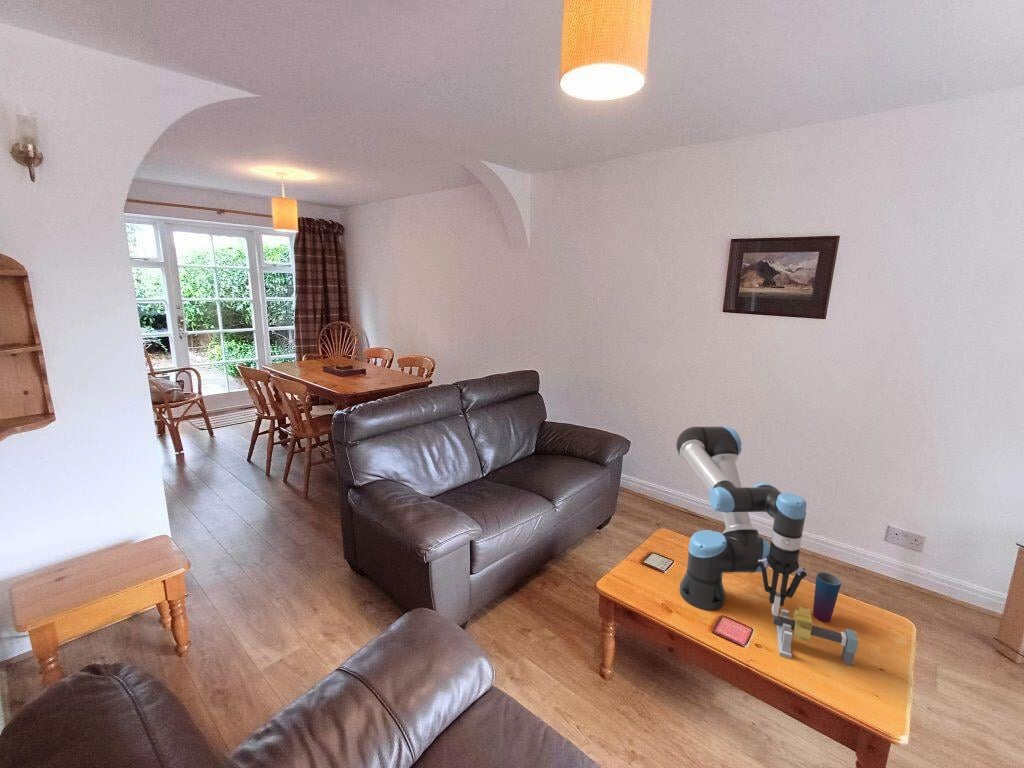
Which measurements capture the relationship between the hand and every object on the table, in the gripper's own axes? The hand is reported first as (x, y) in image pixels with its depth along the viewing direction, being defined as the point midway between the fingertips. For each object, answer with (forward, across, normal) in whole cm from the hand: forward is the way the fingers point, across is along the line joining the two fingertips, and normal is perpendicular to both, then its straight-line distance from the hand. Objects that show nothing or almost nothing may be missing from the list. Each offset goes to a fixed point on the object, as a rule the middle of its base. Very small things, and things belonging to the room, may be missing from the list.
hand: (774, 612), depth 142 cm
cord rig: (+10, +11, 0) cm, 14 cm away
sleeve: (+5, +7, 0) cm, 9 cm away
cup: (+10, +16, +18) cm, 26 cm away
